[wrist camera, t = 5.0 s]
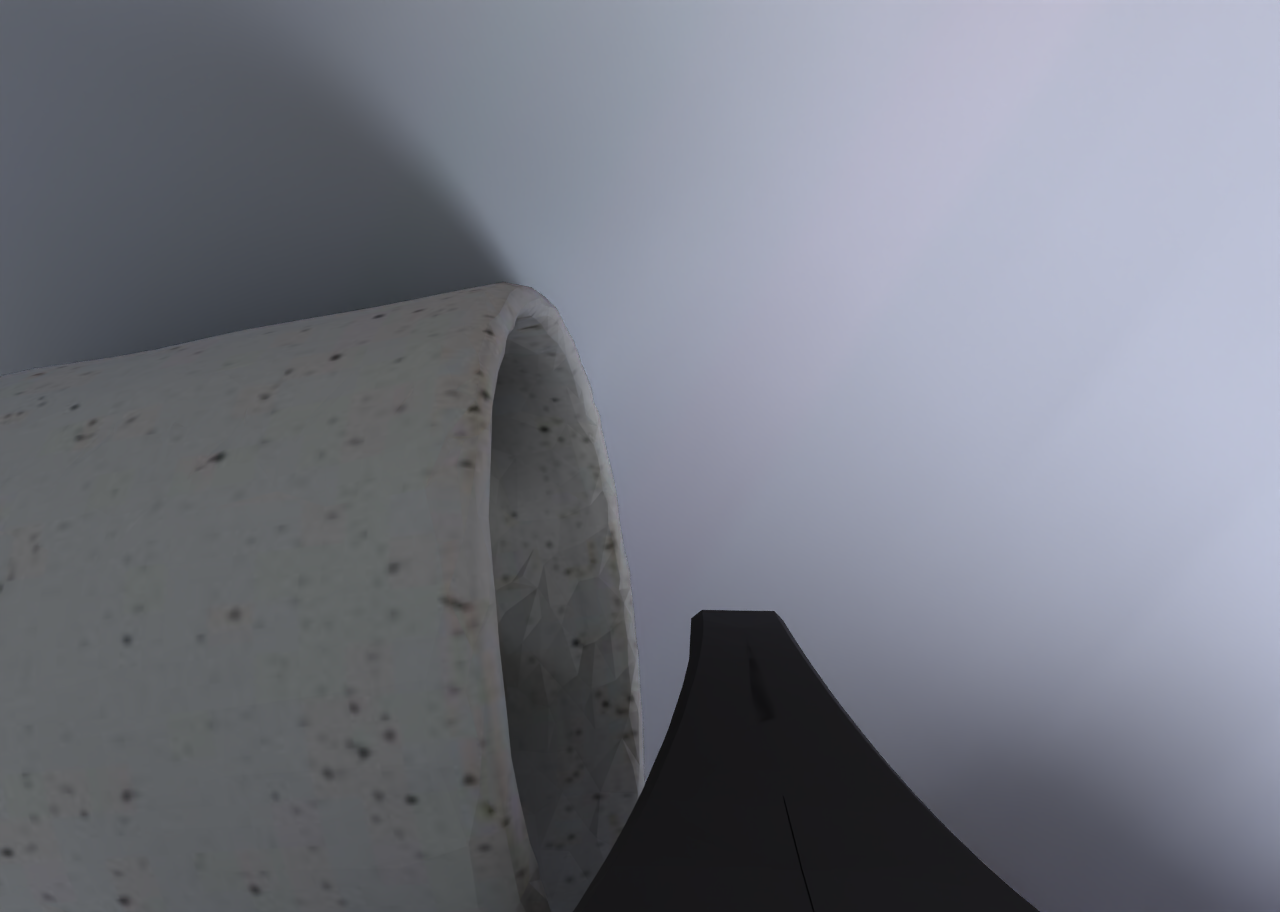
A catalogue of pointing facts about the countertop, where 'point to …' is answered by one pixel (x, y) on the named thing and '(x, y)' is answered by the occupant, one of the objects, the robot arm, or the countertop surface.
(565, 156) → the countertop surface
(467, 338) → the ceramic mug
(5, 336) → the countertop surface
